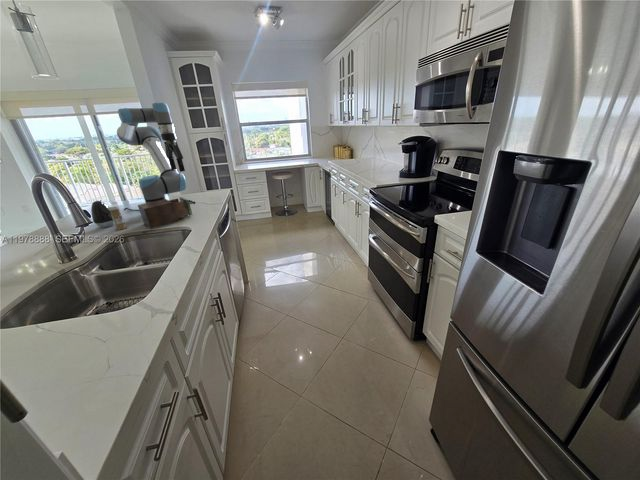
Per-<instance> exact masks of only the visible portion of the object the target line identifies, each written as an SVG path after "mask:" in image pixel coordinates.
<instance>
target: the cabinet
mask: <svg viewBox="0 0 640 480" xmlns="http://www.w3.org/2000/svg"><path fill="white" fill-rule="evenodd" d="M137 207H138V208H137V209H138V210H140V211H139V213H140V215H141V219H142V221H143V223H144V225H145V226H147V227H148V228H149V229H155V228H159V227H162V226H166V225H169V224H172V223H176V222H179V218H178V219H177V215H176V212H175V209H174V206H173V202H171V201H169V200H168V199H167V198H166V199H163V200H158V201H154V202H149V203H146V202H145V203H140V204H137Z"/></svg>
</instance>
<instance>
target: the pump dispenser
mask: <svg viewBox="0 0 640 480" xmlns="http://www.w3.org/2000/svg"><path fill="white" fill-rule="evenodd" d="M90 209H91V211H90V212H91V218H92V221H93V223H94V224H95V225H96V226H98V227H99V228H108V227H111V226H114V225H115V223H114V221H113V219H112V216H111V213H110V211H109V210H108V205H107V204H106V203H105V202H104V201H103V200H102V199H100V200H95V201H93V202H92V203H91V208H90Z"/></svg>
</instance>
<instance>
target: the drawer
mask: <svg viewBox="0 0 640 480" xmlns="http://www.w3.org/2000/svg"><path fill="white" fill-rule="evenodd" d="M168 201H171V202H173V206H174V209H175V212H176V215H177V219H178V220H179V219H181V218H184V217H188V216H190V217H191V216H193V215H194V214H193V211H192V207H191V205H192V204H193V205H196V201H194V200H192V199H188V198H184V197H182V196H180V197H179V198H174V199H173V198H172V199H169V200H168Z"/></svg>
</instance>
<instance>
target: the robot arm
mask: <svg viewBox="0 0 640 480" xmlns="http://www.w3.org/2000/svg"><path fill="white" fill-rule="evenodd" d="M151 106H152V107H151V108H150V107H141V108H140V107H138V108H137V107H133V108H132V107H124V108H118V109H117V114H118V118H119V120H120V121H121V123H120V126H119V127H118V128H117V130H116V136H117V138H118V139H119V140H120V141H121V142H122V143H124V144H126V145H129V146H135V147H136V146H142V147H143V148H144V149H145V150H147V151H148V153H149V155H150V157H151V158H152V160H153V162H154V164H155V166H156V167H157V170H158V171H159V173H160V174H153V175H148V176H144V177H142V178H139V180H138V184H139V189H140V190H141V193H142V196H143V199H144V202H145V203H149V202H154V201H158V200H163V199H166V200H167V198H166V195H170V194H174V193H180V192H183V191H185V190H186V189H187V181H186V177H185V174H184V173H181V172H186V169H185V164H184V161H183V159H184V156H183V153H182V151H181V150H180V147H179V145H178V142H177V141H176V140H177V135H176V133H175V127H174V123H173V121H172V117H171V113H170V109H169V106H168V104H167V103H166V102H152V104H151ZM149 123H150V124H152V123H156V124H157V126H158V127H155V126H153V125H151V126H149V125H147V126H139V124H149ZM162 142H163V144H164V149H165V151H164V149H163V148H162ZM173 155H174V156H175V157H174V156H173ZM174 158H176V159H174ZM175 162H177V166H176V163H175ZM177 167H178V169H179V171H178V170H177ZM126 210H128V211H131V212H133V211H134V212H140V210H139V209H131V208H129V207H125V208H124V209H123V211H126Z"/></svg>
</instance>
